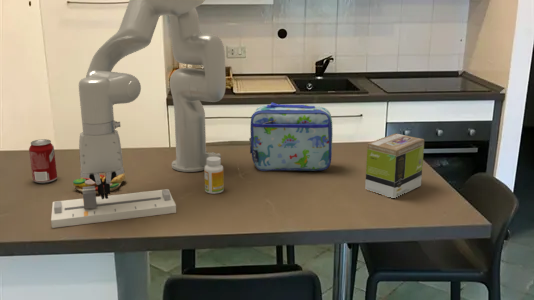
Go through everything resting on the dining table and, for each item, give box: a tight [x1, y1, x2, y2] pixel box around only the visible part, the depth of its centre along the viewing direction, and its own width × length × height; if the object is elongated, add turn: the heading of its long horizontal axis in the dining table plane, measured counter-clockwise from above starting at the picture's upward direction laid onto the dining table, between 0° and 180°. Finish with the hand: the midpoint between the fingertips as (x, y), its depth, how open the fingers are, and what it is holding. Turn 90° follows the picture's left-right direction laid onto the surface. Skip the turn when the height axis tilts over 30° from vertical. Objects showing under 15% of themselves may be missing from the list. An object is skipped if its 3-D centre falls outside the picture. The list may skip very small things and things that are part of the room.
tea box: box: [364, 132, 425, 199], centre depth 155 cm, size 15×10×15 cm, turn 135°
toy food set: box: [72, 172, 126, 195], centre depth 155 cm, size 13×13×3 cm
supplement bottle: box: [203, 157, 225, 195], centre depth 152 cm, size 5×5×10 cm
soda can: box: [28, 138, 58, 184], centre depth 158 cm, size 7×7×12 cm
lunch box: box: [249, 102, 333, 172], centre depth 170 cm, size 26×11×21 cm, turn 84°
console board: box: [50, 188, 177, 229], centre depth 139 cm, size 30×12×4 cm, turn 109°
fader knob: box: [82, 186, 97, 209], centre depth 136 cm, size 3×5×4 cm, turn 19°
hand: (104, 196), depth 138 cm, fingers closed
